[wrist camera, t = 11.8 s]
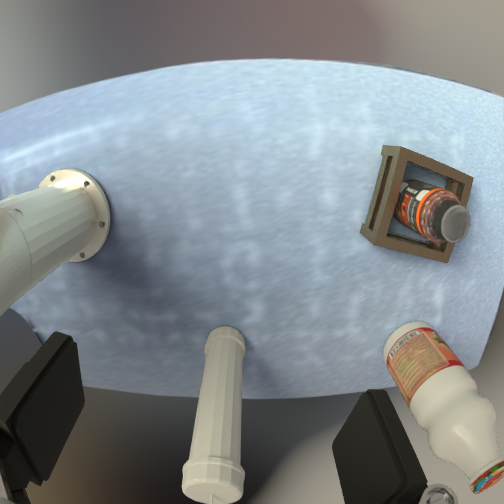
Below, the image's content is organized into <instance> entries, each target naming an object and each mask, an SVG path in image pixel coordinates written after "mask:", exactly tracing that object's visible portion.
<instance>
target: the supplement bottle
mask: <svg viewBox="0 0 504 504" xmlns="http://www.w3.org/2000/svg"><path fill="white" fill-rule="evenodd" d="M393 215H394V217H395V218H396V219H397V220H398V221H399V222H401V223H402V224H404V225H405V227H406V226H407V227H409V228H410V229H412V230H414V231H415V232H417V233H418V234H420V235H422V236H423V237H424V238H426V239H428V240H430V241H432V242H435V243H444V242H447V241H448V242H451V243H455V242H459V241H460V240H462V239H463V238H464V237H465V235H466V234H467V232H468V229H469V226H470V216H469V212H468V211H467V209H466V208H465V207H464V206H462V205H461V203H460V201H459V199H458V198H457V196H456V195H455V194H453V193H452V192H450V191H448V190H445V189H443V188H440V187H437V186H434V185H431V184H427V183H424V182H421V181H418V180H413V179H407V180H404V181H402V183H401V187H400V191H399V195H398V198H397V202H396V205H395V209H394V212H393Z"/></svg>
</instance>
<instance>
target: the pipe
mask: <svg viewBox="0 0 504 504" xmlns="http://www.w3.org/2000/svg"><path fill="white" fill-rule="evenodd" d="M245 351H246V347H245V340H244V338H243V335H242V334H241V333H240V332H239V331H238V330H237V329H235V328H232V327H227V326H222V327H218V328H216V329H214V330H213V331H211V332H210V334H209V336H208V338H207V342H206V344H205V354H206V360H205V366H204V372H203V378H202V383H201V389H200V395H199V401H198V407H197V413H196V419H195V425H194V432H193V438H192V444H191V450H190V457H189V461H187V462H186V463H185V465H184V466H183V481H182V490H183V493H184V494H186V496H188V497H189V498H191V499H193V500H195V501H198V502H202V503H206V504H229V503H233V502H236V501H237V500H239V499H240V498H241V497H242V494H243V482H244V478H245V471H244V470H243V468H242V467H241V466H240V450H241V399H242V360H243V358H244V357H245Z"/></svg>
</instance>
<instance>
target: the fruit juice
mask: <svg viewBox="0 0 504 504" xmlns="http://www.w3.org/2000/svg"><path fill="white" fill-rule="evenodd" d="M383 358H384V362H385V364H386V366H387V368H388V370H389V372H390V373H391V375H392V377H393V379H394V381H395V383H396V385H397V387H398V388H399V390H400V392H401V394H402V396H403V398H404V400H405V402H406V404H407V405H408V408H409V409H410V412H411V414H412V416H413V417H414V419H415V420H416V422H417V423H418V425H419V426H420V427H421V428H422V429H423V430H425V431H426V432H427V437H428V443H429V447H430V449H431V451H432V452H433V454H434V455H435V456H436V457H437V458H439V459H441V460H443V461H446V462H449V463H451V464H453V465H454V466H456V467H457V468H458V469H459V470H461V471H462V472H463V473H464V474H465V475H466V476H467V477H468V479H469V486H470V489H471V491H472V492H473V493H474V494H478V493H480V492H483V491H484V490H486V489H488V488H489V487H491V486H493V485H494V484H495V483H496V482H498V481H499V480H500V479H501V478H502V477H503V476H504V457H501V455H500V453H499V450H498V446H497V441H496V436H495V424H496V413H495V410H494V407H493V406H492V404H491V402H490V401H489V400H488V399H486V398H485V397H484V396H482V395H480V394H479V393H478V389H477V385H476V382H475V381H474V379H473V377H472V376H471V374H470V373H469V371H468V370H467V369H466V368H465V367H464V365H463V364H462V363H461V362H460V360H459V359H458V358H457V357H456V355H455V354H454V353H453V352H452V351H451V349H450V348H449V347H448V346H447V344H446V343H445V342H444V341H443V340H442V338H441V337H440V336H439V335H438V334H437V333H436V331H435V330H434V329H433V328H432V327H431V326H430V325H429V324H427V323H425V322H422V321H412V322H408V323H406V324H404V325H402V326H400V327H399V328H397V329H396V330H395V331H394V332H393V333H392V334H391V335H390V336H389V338H388V339H387V341H386V343H385V345H384V349H383Z"/></svg>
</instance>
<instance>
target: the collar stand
mask: <svg viewBox="0 0 504 504" xmlns="http://www.w3.org/2000/svg"><path fill="white" fill-rule="evenodd" d="M381 155H383V159H382V163H381V167H380V171H379V175H378V178H377V182H376V186H375V190H374V193H373V197H372V201H371V204H370V208H369V211H368V215H367V218H366V222H365V224H363V223H362V226H361V230H360V233H361V234H362V235H363V236H364V237H365V238H367V239H368V240H369V241H370V242H371V243H372V244H373V245H377V246H381V247H385V248H389V249H393V250H397V251H401V252H405V253H409V254H413V255H417V256H421V257H425V258H429V259H433V260H436V261H440V262H444V263H448V261H449V258H450V255H451V252H452V250H453V247H454V244H455V243H451V242H448V241H447V242H444V243H435V242H432V241H430V240H429V242H428V241H422V240H418V239H414V238H411V237H407V236H404V235H400V234H396V233H393V232H389V231H388V229H389V225H390V222H391V219H392V216H393V212H394V209H395V205H396V202H397V198H398V195H399V191H400V187H401V183H402V180H403V176H404V172H405V168H406V164H407V163H408V164H411V165H413V166H416V167H418V168H421V169H424V170H426V171H429V172H431V173H434V174H436V175H439V176H441V177H443V178H445V179H447V181H446V185H445V190H448V191H450V192H452V193H453V194H455V195H456V196H457V198H458V199H459V201H460V203H461V205H462V206H464V207H465V208H466V205H467V202H468V198H469V194H470V190H471V186H472V182H473V177H471V176H469V175H467V174H465V173H463V172H460V171H458V170H456V169H454V168H452V167H449V166H447V165H445V164H443V163H440V162H438V161H436V160H433V159H431V158H429V157H426V156H424V155H421V154H419V153H416V152H414V151H411V150H409V149H406V148H404V147H401V146H387V145H383V148H382V152H381Z"/></svg>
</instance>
